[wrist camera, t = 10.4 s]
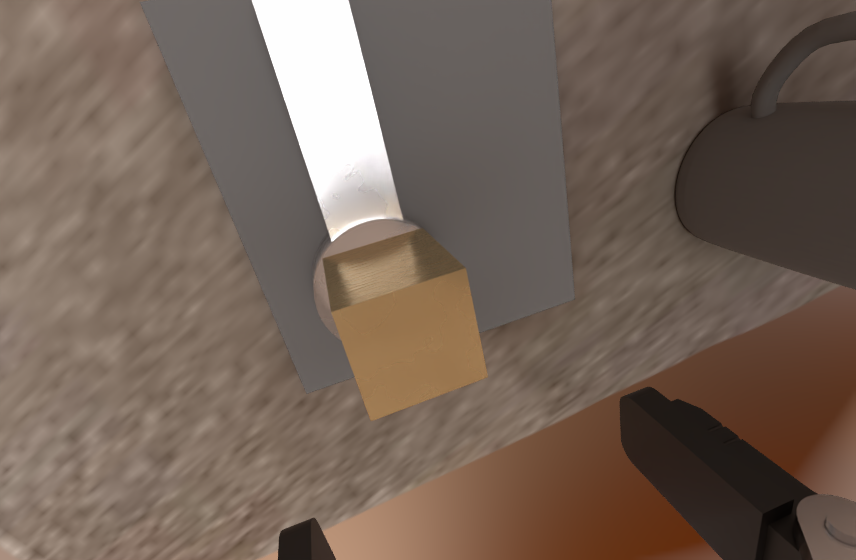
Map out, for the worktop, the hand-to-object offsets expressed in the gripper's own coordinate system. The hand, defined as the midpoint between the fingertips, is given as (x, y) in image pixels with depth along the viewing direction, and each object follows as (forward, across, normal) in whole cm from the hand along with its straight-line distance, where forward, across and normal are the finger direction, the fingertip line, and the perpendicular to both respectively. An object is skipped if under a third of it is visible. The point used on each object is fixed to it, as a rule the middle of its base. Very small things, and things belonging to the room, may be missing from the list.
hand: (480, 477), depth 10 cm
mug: (+16, -24, -1) cm, 29 cm away
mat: (+15, -3, -4) cm, 16 cm away
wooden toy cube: (+12, 0, 0) cm, 12 cm away
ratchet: (+15, 0, -5) cm, 16 cm away
